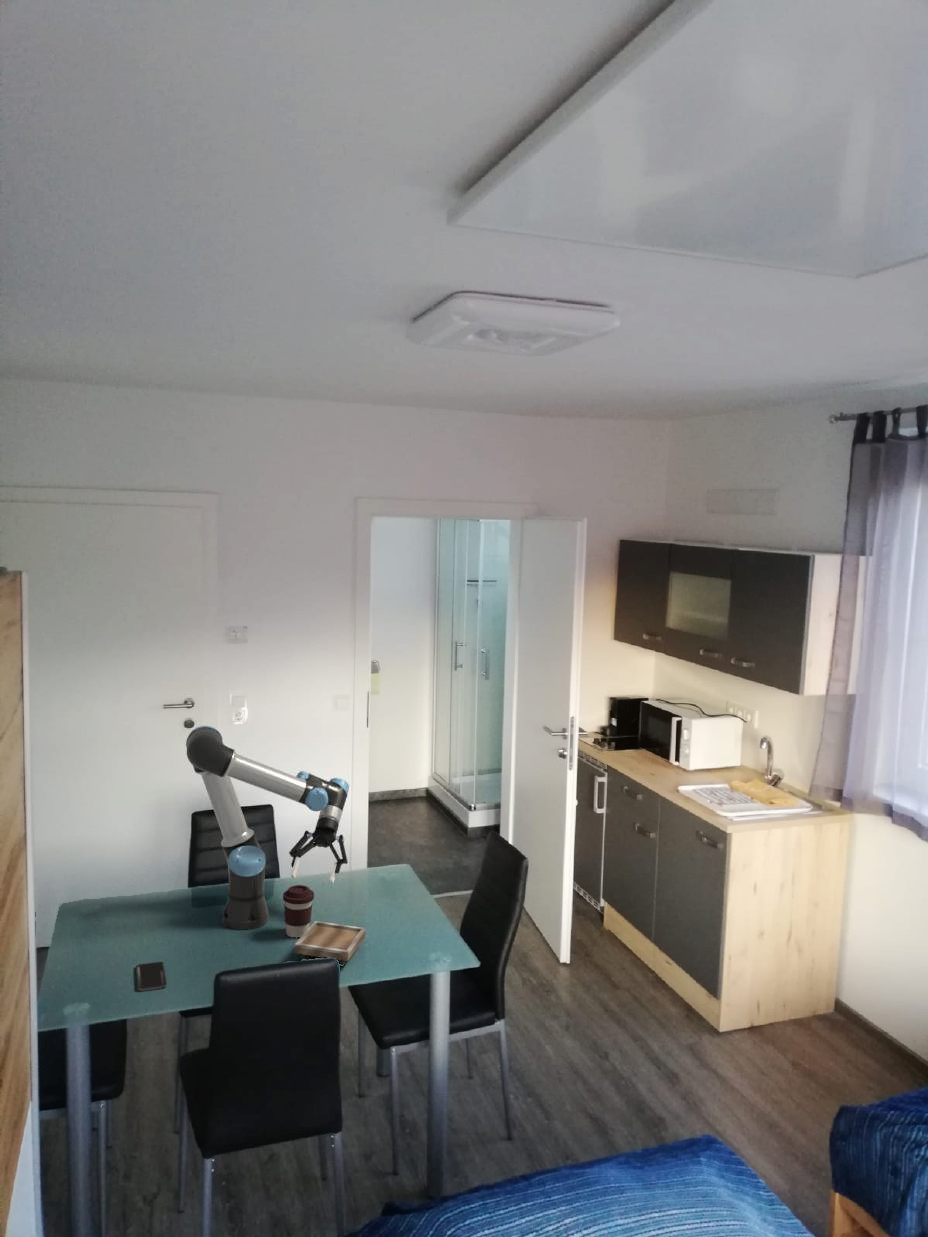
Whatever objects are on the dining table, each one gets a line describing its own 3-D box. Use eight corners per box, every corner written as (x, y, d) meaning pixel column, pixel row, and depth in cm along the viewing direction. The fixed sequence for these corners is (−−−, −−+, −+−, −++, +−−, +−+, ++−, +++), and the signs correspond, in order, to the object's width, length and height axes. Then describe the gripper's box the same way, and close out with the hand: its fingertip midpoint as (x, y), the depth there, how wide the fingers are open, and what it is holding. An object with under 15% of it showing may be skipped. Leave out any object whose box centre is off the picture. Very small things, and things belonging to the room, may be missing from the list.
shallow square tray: (294, 962, 271) (294, 944, 270) (314, 938, 288) (315, 920, 287) (347, 970, 268) (348, 952, 267) (365, 945, 284) (365, 928, 284)
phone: (137, 989, 250) (136, 964, 263) (137, 993, 250) (135, 968, 264) (166, 986, 252) (164, 961, 266) (166, 989, 253) (164, 964, 266)
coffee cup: (275, 935, 288) (276, 890, 287) (294, 924, 297) (296, 880, 296) (300, 943, 284) (301, 897, 282) (318, 931, 292) (320, 887, 291)
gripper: (365, 830, 311) (350, 888, 298) (297, 822, 316) (279, 879, 303) (361, 820, 305) (345, 879, 292) (292, 812, 310) (273, 870, 297)
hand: (311, 879), depth 298 cm, fingers open, 13 cm apart
